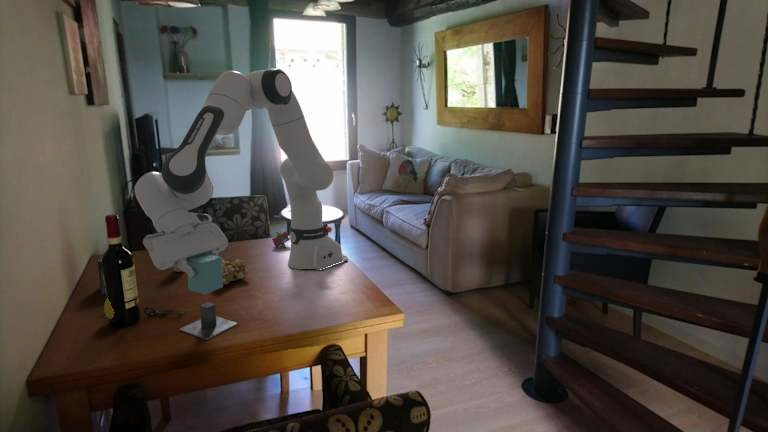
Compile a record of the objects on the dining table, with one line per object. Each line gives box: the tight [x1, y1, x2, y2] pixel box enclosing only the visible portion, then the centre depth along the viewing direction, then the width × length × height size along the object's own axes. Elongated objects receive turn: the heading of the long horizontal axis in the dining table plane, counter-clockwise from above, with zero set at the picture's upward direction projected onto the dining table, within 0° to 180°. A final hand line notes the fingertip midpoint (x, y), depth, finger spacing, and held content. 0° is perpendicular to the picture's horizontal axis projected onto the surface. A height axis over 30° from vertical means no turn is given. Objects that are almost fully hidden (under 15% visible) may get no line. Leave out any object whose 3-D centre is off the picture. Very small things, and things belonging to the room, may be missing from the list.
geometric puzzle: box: [272, 231, 291, 249], centre depth 190 cm, size 7×7×8 cm
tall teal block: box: [186, 253, 224, 295], centre depth 116 cm, size 6×6×8 cm
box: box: [97, 253, 106, 295], centre depth 142 cm, size 8×6×11 cm
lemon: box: [103, 297, 115, 320], centre depth 121 cm, size 6×6×8 cm
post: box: [179, 301, 239, 341], centre depth 119 cm, size 10×10×6 cm
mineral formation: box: [222, 257, 251, 285], centre depth 153 cm, size 8×13×15 cm
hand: (206, 271), depth 116 cm, fingers closed on tall teal block, 6 cm apart
